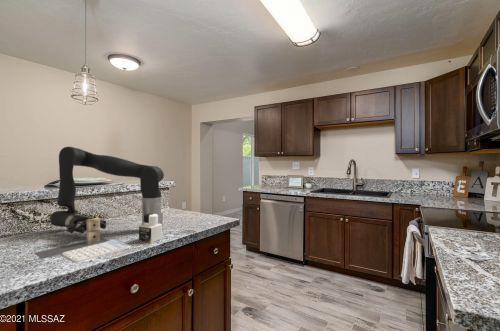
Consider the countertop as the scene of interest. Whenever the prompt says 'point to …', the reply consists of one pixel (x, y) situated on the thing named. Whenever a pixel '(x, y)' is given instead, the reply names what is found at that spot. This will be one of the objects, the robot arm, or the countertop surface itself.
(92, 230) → the domino
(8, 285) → the countertop surface
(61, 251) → the mat
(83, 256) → the calculator
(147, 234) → the medicine bottle
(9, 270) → the countertop surface
